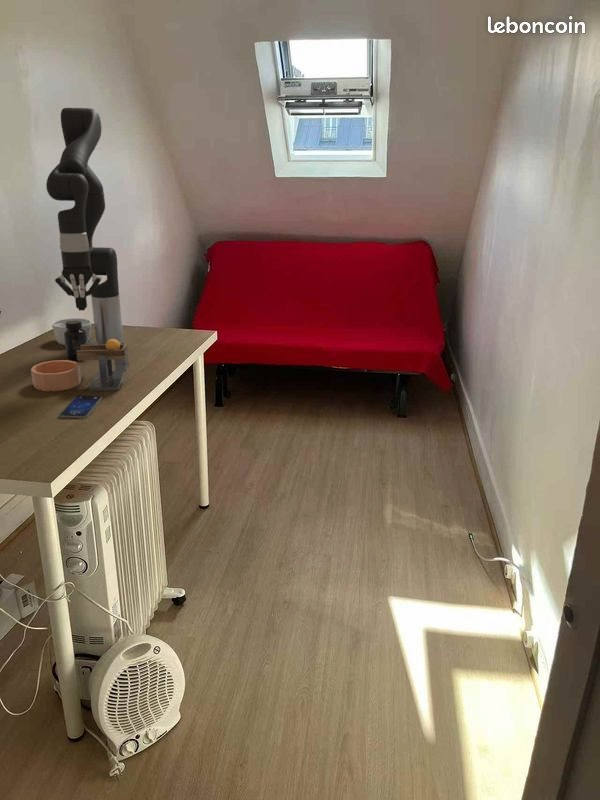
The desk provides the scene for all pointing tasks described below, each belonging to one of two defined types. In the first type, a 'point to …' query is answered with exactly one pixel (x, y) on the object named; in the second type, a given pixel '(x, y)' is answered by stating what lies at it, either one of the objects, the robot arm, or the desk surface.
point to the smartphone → (80, 407)
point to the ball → (112, 344)
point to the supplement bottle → (74, 338)
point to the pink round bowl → (56, 375)
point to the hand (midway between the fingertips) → (82, 309)
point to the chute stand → (106, 376)
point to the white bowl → (60, 328)
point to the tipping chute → (93, 350)
